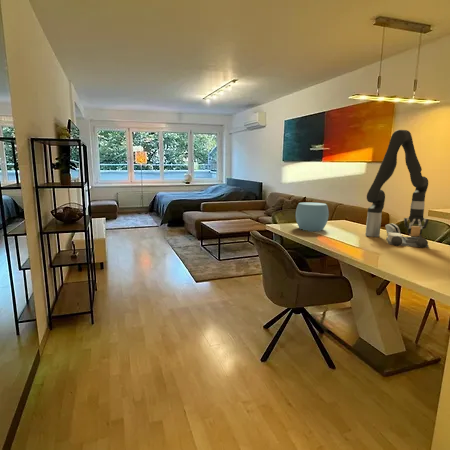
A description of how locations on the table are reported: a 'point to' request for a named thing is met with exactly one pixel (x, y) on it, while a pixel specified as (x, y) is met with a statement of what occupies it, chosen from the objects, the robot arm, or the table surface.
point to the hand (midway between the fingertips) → (414, 234)
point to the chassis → (406, 240)
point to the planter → (312, 216)
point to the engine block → (415, 231)
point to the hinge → (392, 228)
